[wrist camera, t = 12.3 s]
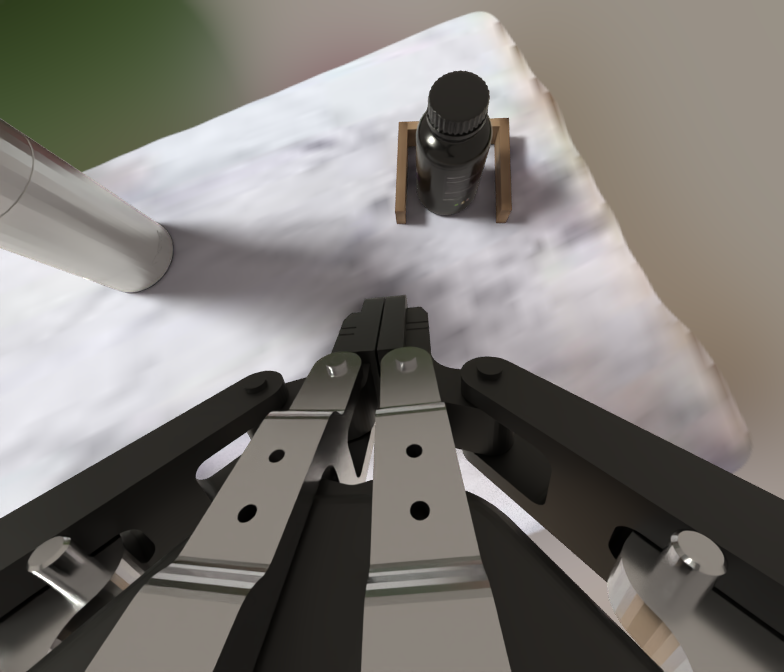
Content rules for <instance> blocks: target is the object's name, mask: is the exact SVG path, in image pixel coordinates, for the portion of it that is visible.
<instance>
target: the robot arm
mask: <svg viewBox="0 0 784 672" xmlns="http://www.w3.org/2000/svg"><path fill="white" fill-rule="evenodd" d="M0 248H1V249H4V250H7V251H10V252H12V253H15V254H18V255H21V256H24V257H26V258H29V259H32V260H35V261H38V262H40V263H43V264H46V265H49V266H51V267H54V268H57V269H60V270H63V271H65V272H68V273H71V274H74V275H77V276H79V277H82V278H84V279H87V280H90V281H93V282H96V283H99V284H101V285H104V286H107V287H110V288H113V289H115V290H118V291H122V292H138V291H142V290H144V289H147V288H149V287H150V286H152V285H153V284H155V283H156V282H157V281H158V280H159V279H160V278H162V276H163V275H164V274H165V272H166V271H167V269H168V267H169V265H170V263H171V259H172V256H173V244H172V240H171V237H170V235H169V233H168V232H167V231H166V229H165V228H163V227H162V226H161V225H160V224H158V223H157V222H155V221H154V220H152V219H151V218H149V217H148V216H146V215H145V214H143V213H142V212H140V211H139V210H137V209H136V208H134V207H133V206H131V205H130V204H128V203H127V202H125V201H124V200H122V199H121V198H119V197H118V196H116V195H115V194H113V193H112V192H110V191H109V190H107V189H106V188H104V187H103V186H101V185H100V184H98V183H97V182H95V181H94V180H92V179H91V178H89V177H88V176H86V175H85V174H83V173H82V172H80V171H79V170H77V169H76V168H74V167H73V166H71V165H70V164H68V163H67V162H65V161H64V160H62V159H61V158H59V157H58V156H56V155H55V154H53V153H51V152H50V151H48V150H47V149H46V148H44V147H43V146H41V145H40V144H38V143H37V142H35V141H34V140H32V139H31V138H29V137H28V136H26V135H25V134H23V133H21V132H20V131H18V130H17V129H15V128H14V127H12V126H11V125H9V124H8V123H6V122H5V121H3V120H2V119H0ZM338 335H339V336H338V337H337V340H336V342H335V345H334V347H333V350H332V353H331V354H328V355H326V356H324V357H322V358H321V359H319V360H318V361H317V362H316V363H315V364H314V366H313V367H312V369H311V371H310V373H309V375H308V376H307V377H306V378H303V379H299V380H295V381H292V382H288V383H285V382H284V379H283V377H282V375H281V374H280V373H278V372H275V371H262V372H258V373H255V374H252V375H249V376H247V377H245V378H244V379H242V380H240V381H238V382H237V383H235V384H233V385H232V386H230V387H228V388H226V389H225V390H223V391H221V392H219V393H218V394H216V395H214V396H212V397H211V398H209V399H207V400H205V401H204V402H202V403H200V404H199V405H197V406H195V407H193V408H192V409H190V410H188V411H186V412H185V413H183V414H181V415H179V416H178V417H176V418H174V419H172V420H171V421H169V422H167V423H166V424H164V425H162V426H160V427H159V428H157V429H155V430H153V431H152V432H150V433H148V434H146V435H145V436H143V437H141V438H139V439H138V440H136V441H134V442H133V443H131V444H129V445H127V446H126V447H124V448H122V449H120V450H119V451H117V452H115V453H113V454H112V455H110V456H108V457H106V458H105V459H103V460H101V461H99V462H98V463H96V464H94V465H93V466H91V467H89V468H87V469H86V470H84V471H82V472H80V473H79V474H77V475H75V476H73V477H72V478H70V479H68V480H66V481H65V482H63V483H61V484H60V485H58V486H56V487H54V488H53V489H51V490H49V491H47V492H46V493H44V494H42V495H40V496H39V497H37V498H35V499H33V500H32V501H30V502H28V503H27V504H25V505H23V506H21V507H20V508H18V509H16V510H14V511H13V512H11V513H9V514H7V515H6V516H4V517H2V518H0V672H784V500H783V499H781V498H779V497H777V496H775V495H773V494H771V493H769V492H767V491H765V490H763V489H761V488H759V487H757V486H755V485H753V484H751V483H749V482H747V481H745V480H743V479H741V478H739V477H737V476H735V475H733V474H731V473H729V472H727V471H725V470H723V469H721V468H719V467H717V466H715V465H713V464H711V463H709V462H707V461H705V460H703V459H702V458H700V457H698V456H696V455H694V454H692V453H690V452H688V451H686V450H684V449H682V448H680V447H678V446H676V445H674V444H672V443H670V442H668V441H666V440H664V439H662V438H660V437H658V436H656V435H654V434H652V433H650V432H648V431H646V430H644V429H642V428H640V427H638V426H636V425H634V424H632V423H630V422H628V421H626V420H624V419H622V418H620V417H618V416H616V415H614V414H612V413H610V412H608V411H606V410H604V409H602V408H600V407H598V406H596V405H594V404H592V403H590V402H588V401H586V400H584V399H582V398H580V397H578V396H576V395H574V394H572V393H570V392H568V391H566V390H564V389H562V388H560V387H558V386H556V385H555V384H553V383H551V382H549V381H547V380H545V379H543V378H541V377H539V376H537V375H535V374H533V373H531V372H529V371H527V370H525V369H523V368H521V367H519V366H517V365H515V364H513V363H511V362H509V361H507V360H504V359H501V358H497V357H478V358H474V359H472V360H470V361H468V362H466V363H465V364H464V365H463V367H462V368H461V370H460V369H453V368H449V367H445V366H443V365H441V364H439V363H437V362H436V361H435V360H434V359H433V357H432V355H431V347H430V336H429V324H428V313H427V312H426V311H425V310H424V309H423V308H422V307H414V308H408V306H407V298H406V295H401V296H390V297H386V299H385V297H379V298H368V299H365V300H364V303H363V307H362V310H361V312H357V313H351V314H350V315H349V316H348V317H347V318H346V319H345V320H344V321H343V324H342V327H341V330H340V332H339V334H338ZM246 432H247V433H248V435H249V437H250V439H251V441H250V443H249V444H248V446H247V447H246V449H245V451H244V452H243V454H242V455H240V456H239V457H238V458H236V459H235V460H233V461H232V462H231V463H229V464H228V465H227V466H225V467H224V468H222V469H221V470H220V471H218V472H217V473H216V474H214V475H213V476H211V477H209V478H207V479H204V480H198V479H196V472H197V469H198V468H199V466H200V465H201V464H202V463H203V462H204V461H205V460H207V459H208V458H209V457H211V456H212V455H214V454H215V453H217V452H218V451H220V450H221V449H223V448H224V447H225V446H227V445H228V444H230V443H231V442H233V441H234V440H236V439H237V438H239V437H240V436H241V435H243V434H244V433H246ZM373 445H374V469H373V480H370V481H367V482H365V481H366V477H367V472H368V468H369V463H370V459H371V454H372V450H373ZM455 448H457V449H461V450H462V451H463V454H464V456H465V458H466V459H467V460H468V461H469V462H470V463H471V464H472V465H473V466H475V467H476V468H477V469H478V470H479V471H480V472H481V473H483V474H484V475H485V476H486V477H487V478H488V479H489V480H491V481H492V482H493V483H494V484H495V485H496V486H497V487H499V488H500V489H501V490H502V491H503V492H504V493H505V494H507V495H508V496H509V497H510V498H511V499H512V500H513V501H515V502H516V503H517V504H518V505H519V506H520V507H521V508H523V509H524V510H525V511H526V512H527V513H528V514H529V515H531V516H532V517H533V518H534V519H535V520H536V521H537V522H539V523H540V524H541V525H542V526H543V527H544V528H545V529H547V530H548V531H549V532H550V533H551V534H552V535H553V536H555V537H556V538H557V539H558V540H559V541H560V542H561V543H563V544H564V545H565V546H566V547H567V548H568V549H570V550H571V551H572V552H573V553H574V554H575V555H576V556H577V557H579V558H580V559H581V560H582V561H583V562H584V563H585V564H587V565H588V566H589V567H590V568H591V569H592V570H594V571H595V572H596V573H597V574H598V575H599V576H600V577H602V578H603V579H604V580H605V581H606V582H607V583H608V584H607V589H608V596H609V600H610V603H611V606H612V608H613V611H614V613H615V615H616V616H617V618H618V620H619V621H620V623H621V624H622V626H623V627H624V628H625V630H626V631H627V632H628V633H629V634H630V636H631V637H632V638H633V639H634V640H635V641H636V642H637V643H638V645H639V646H640V647H641V648H642V649H643V650H642V649H641V648H640V647H639V646H638V645H637V644H636V643H635V642H634V641H633V640H632V639H631V638H630V637H629V636H628V635H627V634H626V633H625V632H624V631H623V630H622V629H621V628H620V627H619V626H618V625H617V624H616V623H615V622H614V621H613V620H612V619H611V618H610V617H609V616H608V615H607V614H606V613H605V612H604V611H603V610H602V609H601V608H600V607H599V606H598V605H597V604H596V603H595V602H594V601H593V600H592V599H591V598H590V597H589V596H588V595H587V594H586V593H585V592H584V591H583V590H582V589H581V588H580V587H579V586H578V585H577V584H575V582H573V580H572V579H571V578H570V577H569V576H568V575H567V574H565V572H564V571H563V570H562V569H561V568H559V567H558V565H556V564H555V563H554V562H553V561H552V560H551V559H550V558H549V557H548V556H547V555H546V554H545V553H544V552H543V551H542V550H541V549H540V548H539V547H538V546H537V545H536V544H535V543H534V542H533V541H532V540H531V539H530V538H529V537H528V536H527V535H526V534H525V533H524V532H523V531H522V530H521V529H520V528H519V527H518V526H517V525H516V524H515V523H514V522H513V521H512V520H511V519H510V518H509V517H508V516H507V515H506V514H504V513H503V512H502V511H500V510H499V509H498V508H497V507H495V506H494V505H492V504H491V503H489V502H488V501H486V500H484V499H483V498H481V497H479V496H477V495H475V494H473V493H471V492H468V491H465V488H464V484H463V480H462V475H461V471H460V467H459V462H458V458H457V454H456V449H455Z"/></svg>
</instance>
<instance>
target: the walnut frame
mask: <svg viewBox="0 0 784 672" xmlns="http://www.w3.org/2000/svg"><path fill="white" fill-rule="evenodd" d="M490 121H491V124H492V140H491V144H494V147H495V193H496V223H506V221H507V219H508V217H509V214H510V212H511V210H512V201H511V170H510V138H509V118H494V119H490ZM418 123H419V121H414V122H399V131H398V155H397V179H396V202H395V214H396V222H397V224H406V198H407V170H408V147H411V146H416V130H417V126H418Z"/></svg>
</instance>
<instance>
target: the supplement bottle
mask: <svg viewBox="0 0 784 672" xmlns="http://www.w3.org/2000/svg"><path fill="white" fill-rule="evenodd" d="M489 99H490V96H489V90H488V86H487V85H486V83H485V81H483V80H482V78H480V77H478V75H476V74H473V73H472V72H467V71H454V72H450V73H448V74H445V75H443V76H442V77H440V78H438V80H437V81H435V83H434V85H433V86H432V87H431V90H430V92H429V96H428V107H427V110H426V112H425V113H424V114H423V116H422V117H421V119H420V121H419V123H418V126H417V130H416V188H417V195H418V198H419V200H420V202H421V203H422V205H423V206H424V207H425V208H426V209H428V210H429V211H431V212H433V213H435V214H439V215H452V214H456V213H459V212H461V211H463V210H464V209H466V208H467V207H468V206H469V205H470V204H471V203H472V201H473V199H474V197H475V195H476V192H477V189H478V186H479V183H480V179H481V176H482V172H483V169H484V165H485V162H486V158H487V155H488V151H489V148H490V144H491V140H492V124H491V121H490V118H489V116H488V114H487V113H488V105H489Z"/></svg>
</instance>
